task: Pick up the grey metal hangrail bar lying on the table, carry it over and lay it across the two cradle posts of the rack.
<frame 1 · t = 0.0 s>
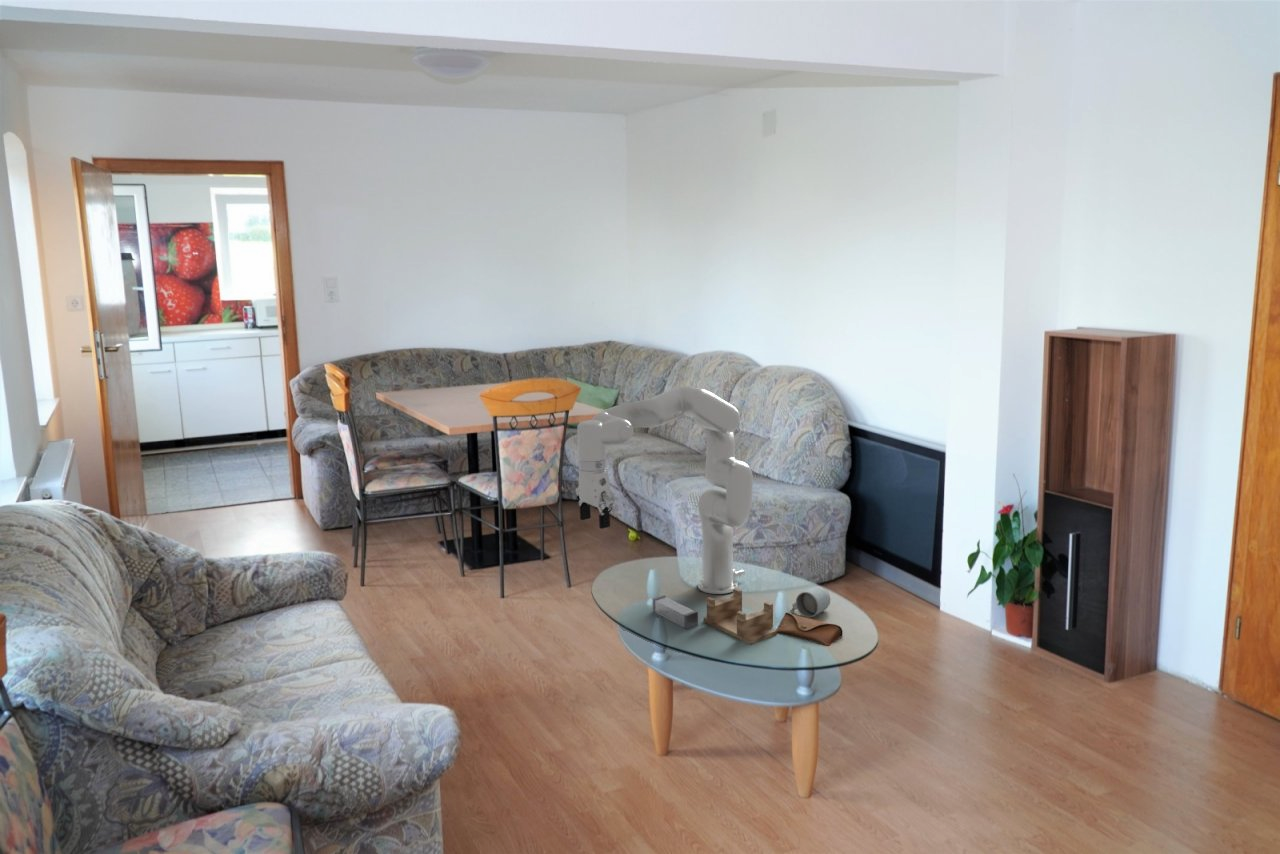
hand: (595, 523, 288), 31 cm above the table, fingers open, 9 cm apart
rack: (739, 627, 291), on the table
ceramic mug: (809, 612, 300), on the table
sunglasses case: (807, 636, 286), on the table
rail: (675, 618, 299), on the table
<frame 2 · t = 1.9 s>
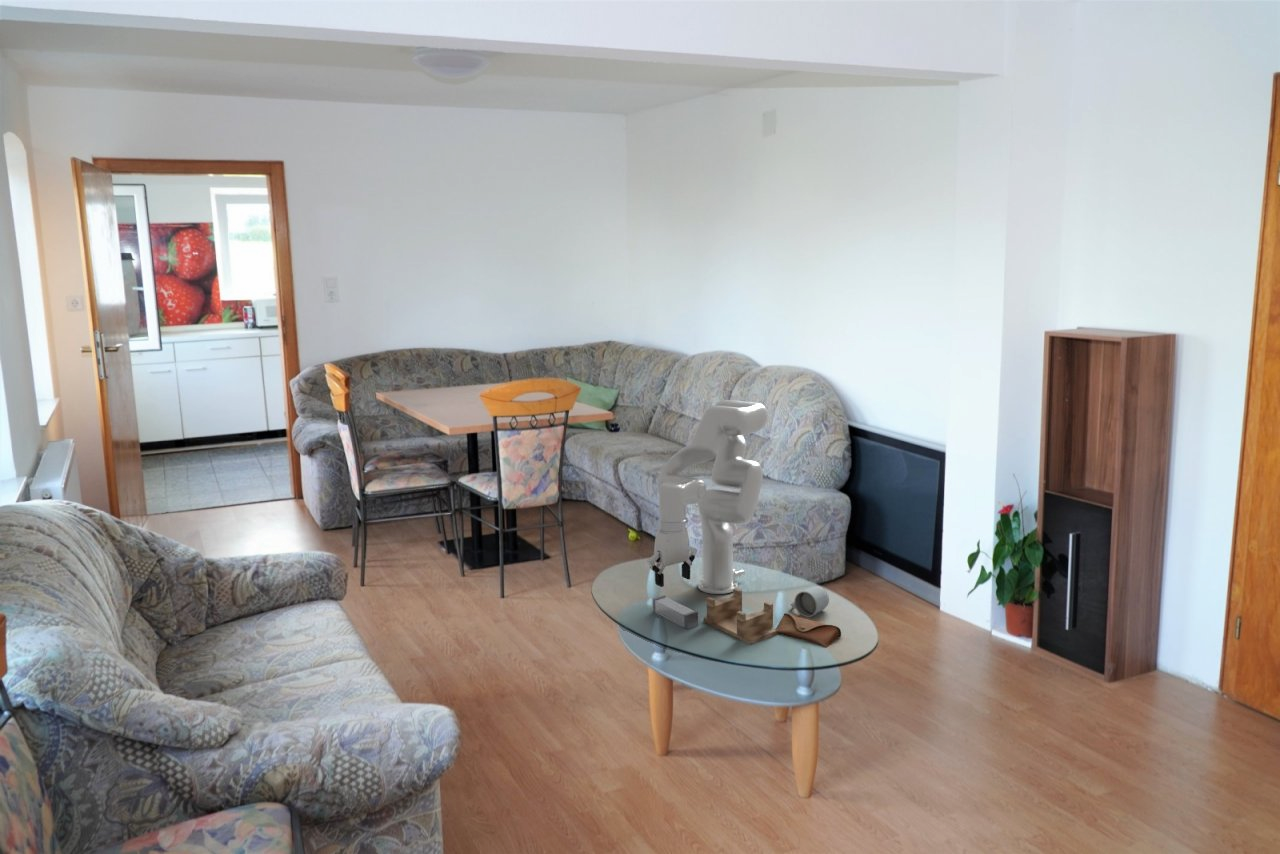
hand: (672, 581, 295), 12 cm above the table, fingers open, 9 cm apart
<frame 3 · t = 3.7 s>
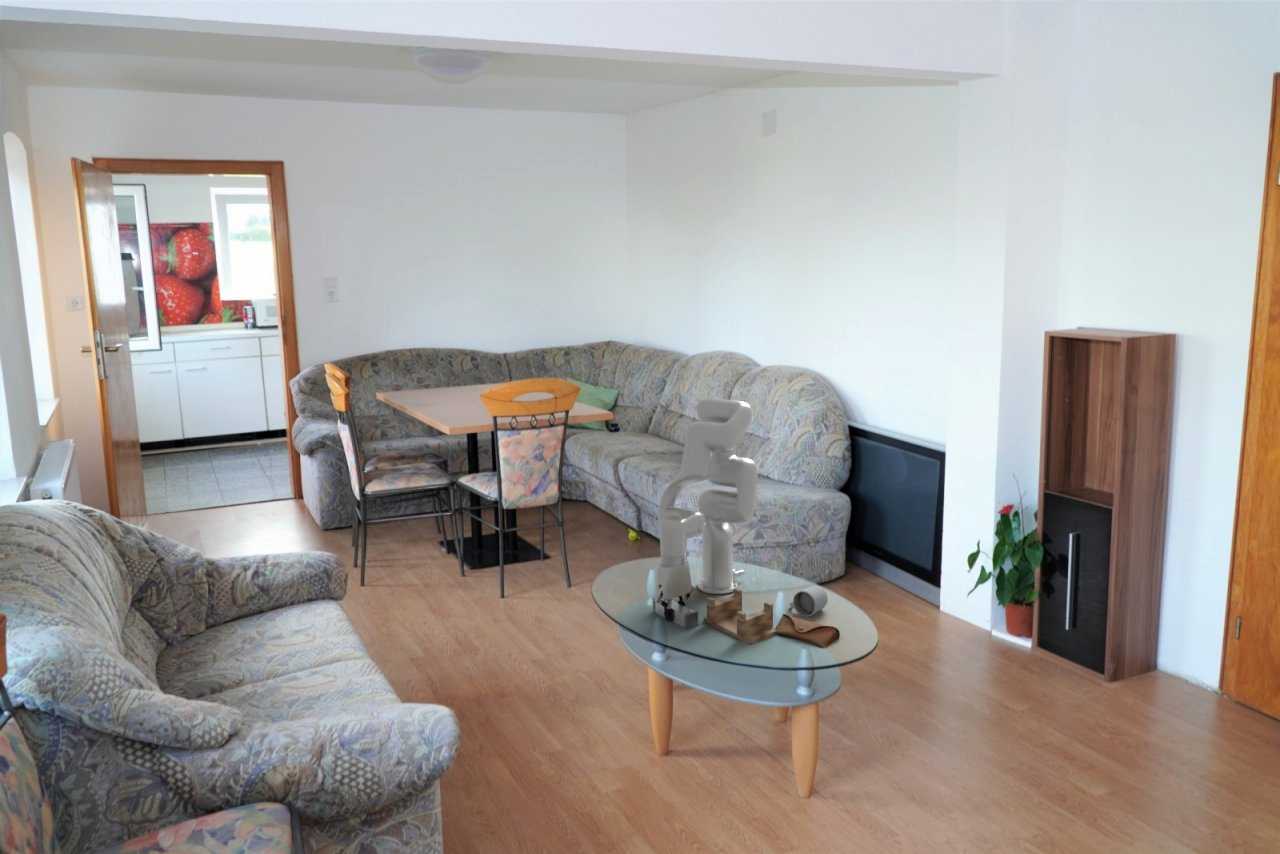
hand: (675, 617, 299), 0 cm above the table, fingers closed on rail, 4 cm apart
rail: (675, 618, 299), on the table, touching gripper
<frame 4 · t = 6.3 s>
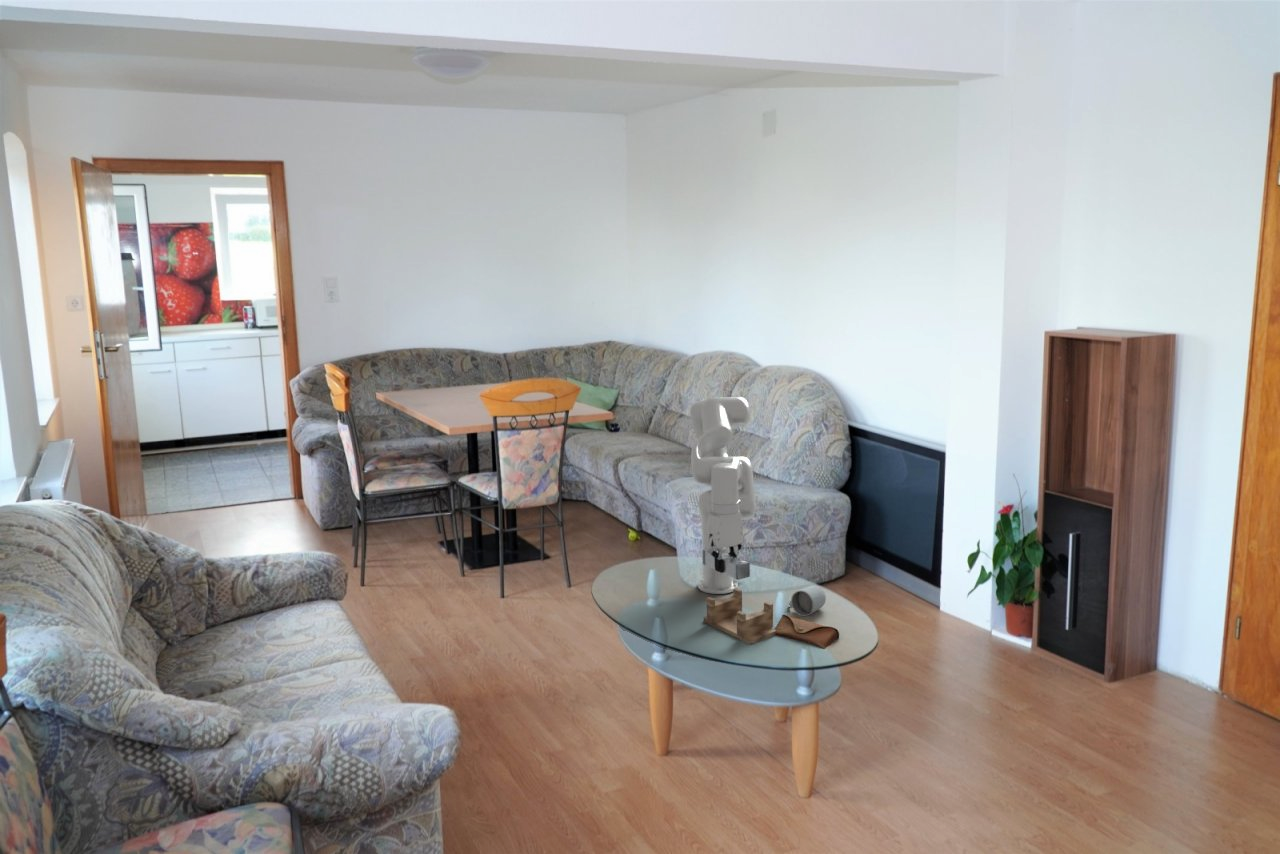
hand: (725, 568, 288), 17 cm above the table, fingers closed on rail, 4 cm apart
rail: (725, 570, 288), point 17 cm above the table, touching gripper
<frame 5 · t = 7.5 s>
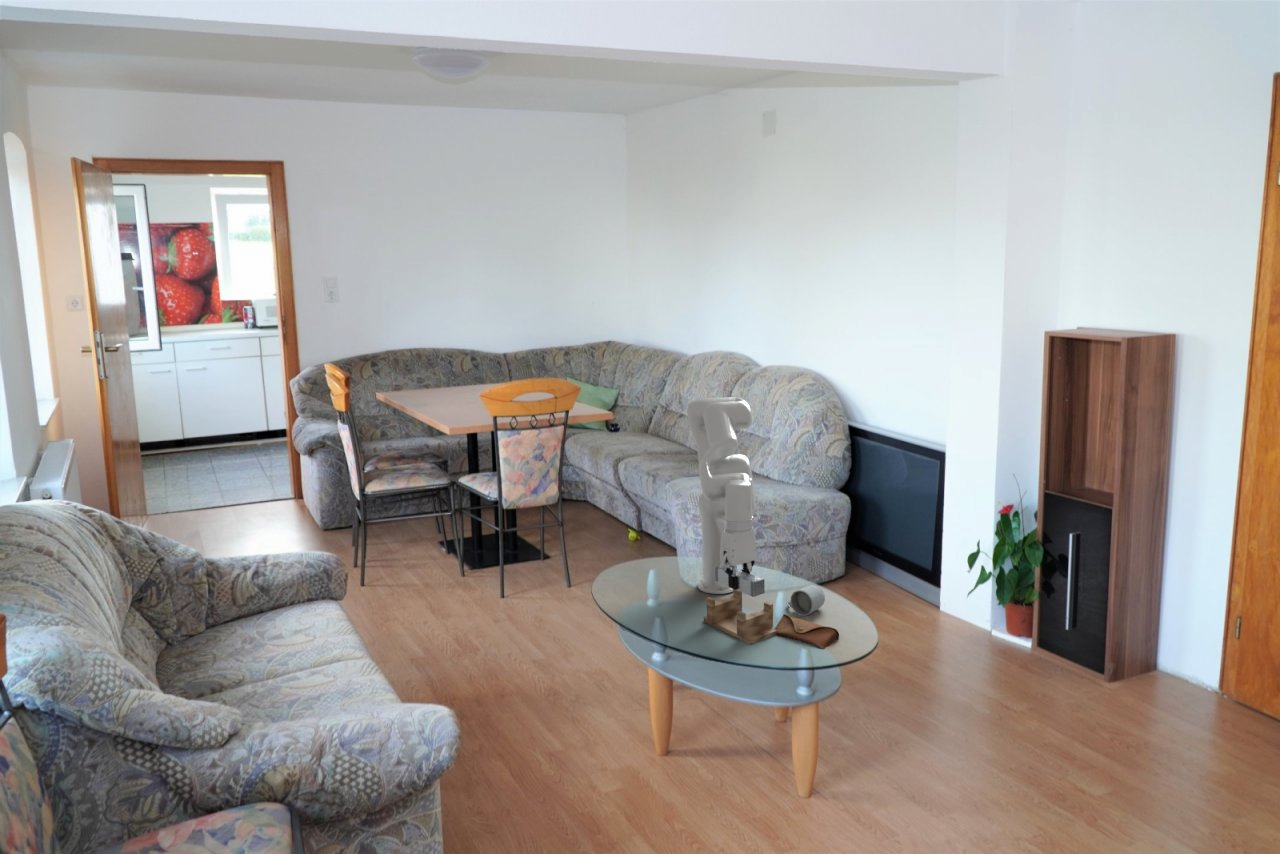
hand: (739, 585, 288), 13 cm above the table, fingers closed on rail, 4 cm apart
rail: (739, 586, 288), point 13 cm above the table, touching gripper
when the fingers open (8 cm above the table, at t = 8.7 s): rail drops 1 cm, resting on rack.
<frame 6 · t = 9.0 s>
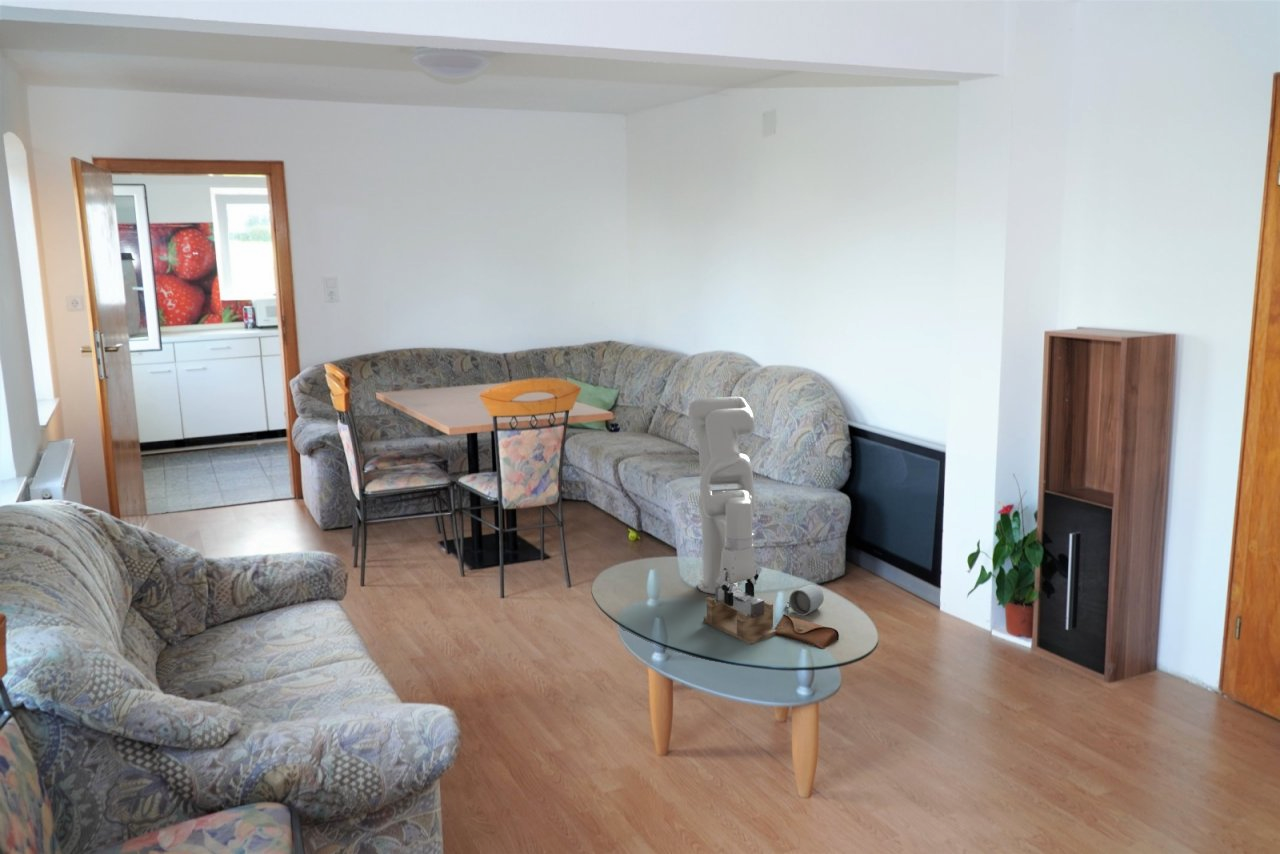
hand: (739, 600, 289), 8 cm above the table, fingers open, 7 cm apart
rail: (739, 607, 290), point 6 cm above the table, touching rack
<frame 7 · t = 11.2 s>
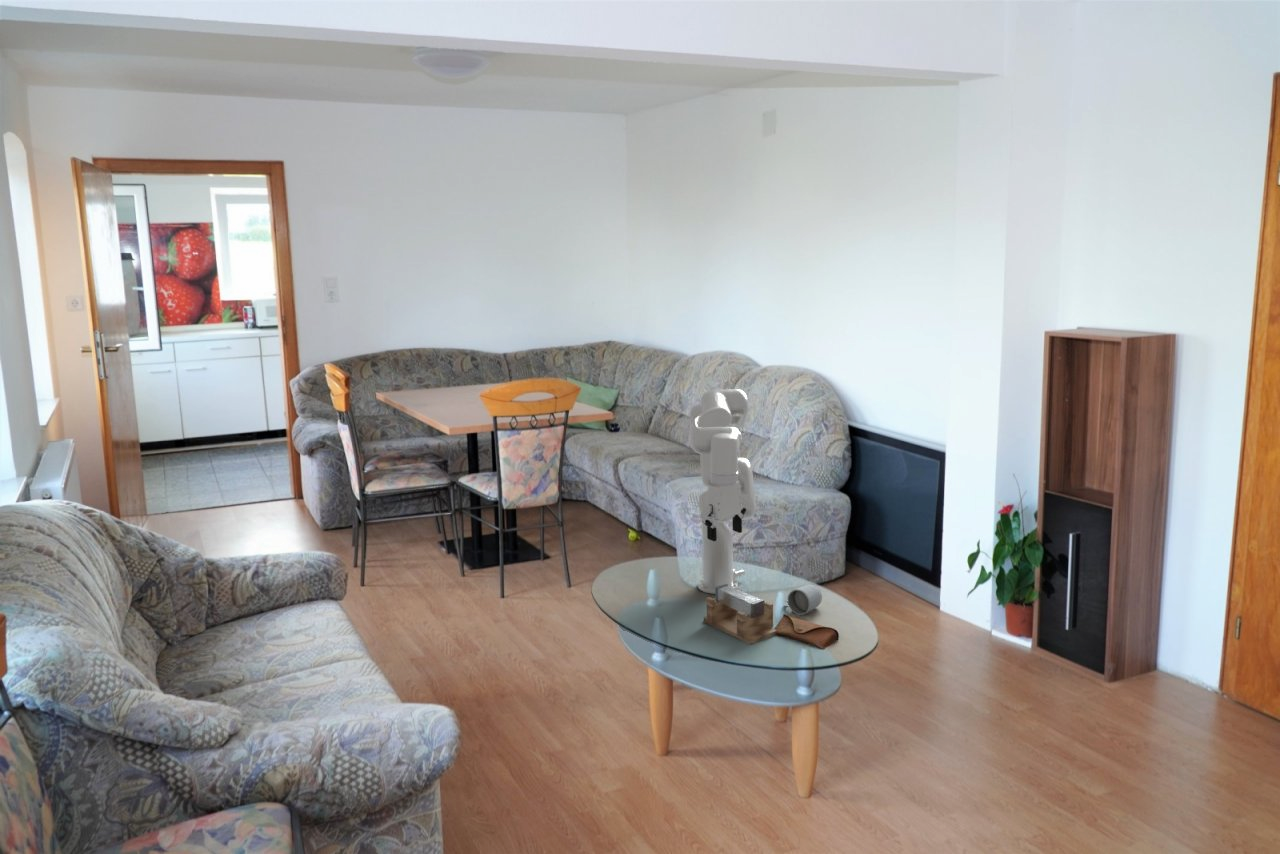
hand: (724, 535, 288), 27 cm above the table, fingers open, 9 cm apart
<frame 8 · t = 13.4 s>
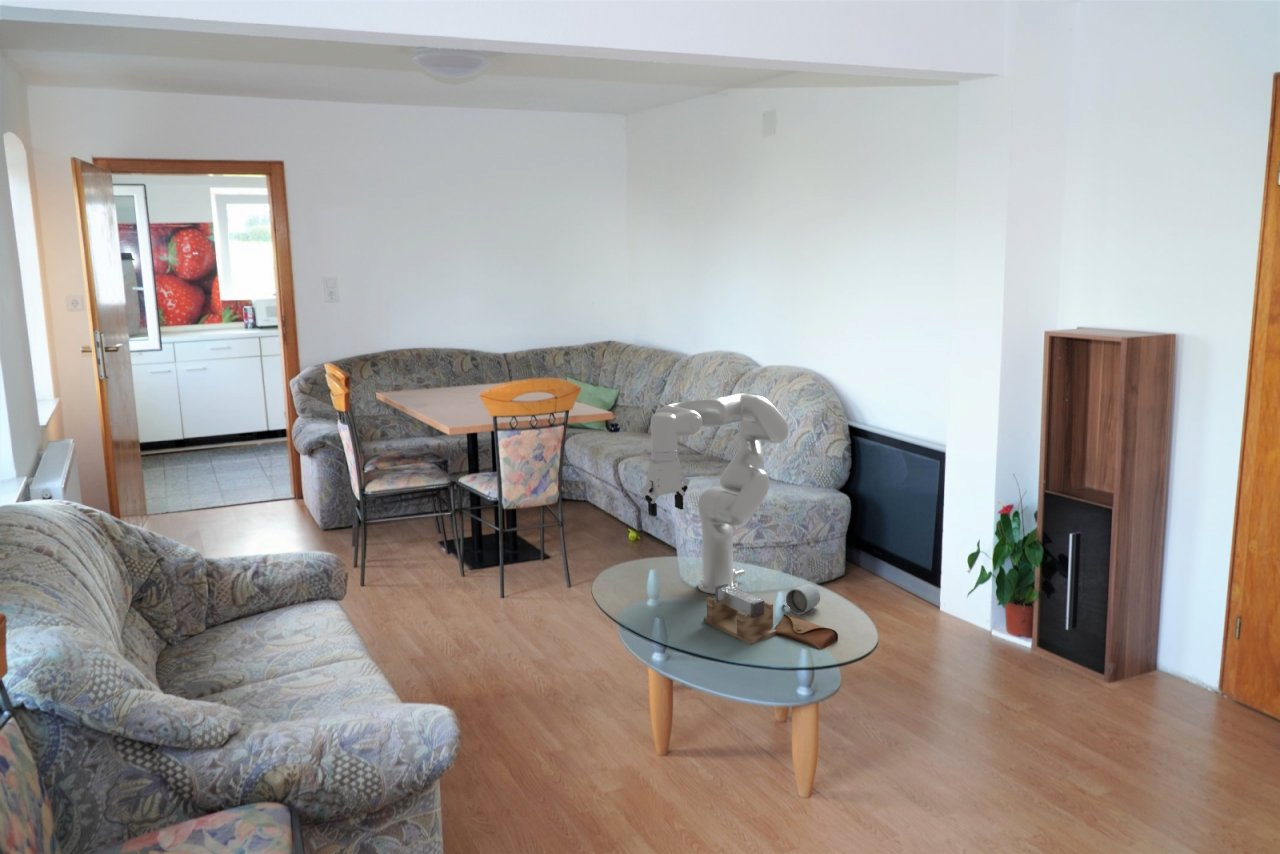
hand: (666, 511, 299), 30 cm above the table, fingers open, 9 cm apart
at the end: rail inside the target area on the rack (0.1 cm from its centre), point 6.2 cm above the rack's base; rail touching rack; the gripper is holding nothing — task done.
